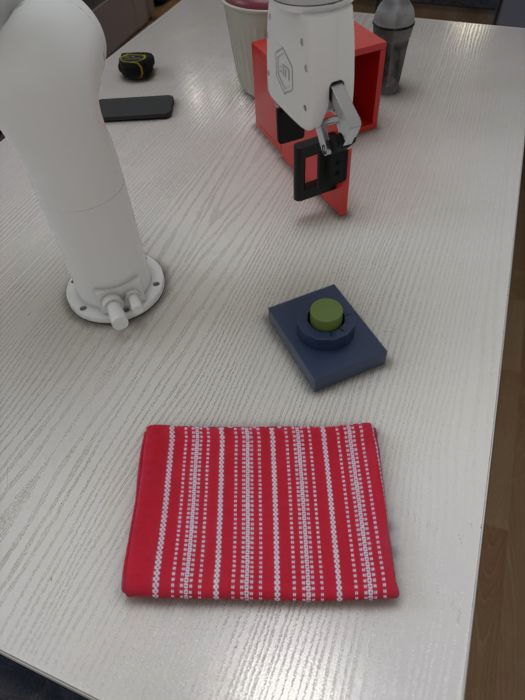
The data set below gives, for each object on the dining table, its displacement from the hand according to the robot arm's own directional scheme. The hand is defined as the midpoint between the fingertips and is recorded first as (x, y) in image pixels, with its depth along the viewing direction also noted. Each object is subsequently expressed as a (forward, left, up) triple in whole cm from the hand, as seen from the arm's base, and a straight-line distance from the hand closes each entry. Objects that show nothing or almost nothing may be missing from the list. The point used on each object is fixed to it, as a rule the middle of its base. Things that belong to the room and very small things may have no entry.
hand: (310, 160), depth 59 cm
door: (+17, -7, -16) cm, 25 cm away
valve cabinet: (+33, -18, -16) cm, 41 cm away
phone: (+55, +9, -16) cm, 58 cm away
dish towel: (-27, +19, -17) cm, 37 cm away
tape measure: (+70, +4, -17) cm, 72 cm away
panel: (-11, +4, -16) cm, 20 cm away
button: (-11, +4, -13) cm, 17 cm away
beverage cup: (+39, -36, -17) cm, 56 cm away
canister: (+50, -18, -17) cm, 55 cm away
